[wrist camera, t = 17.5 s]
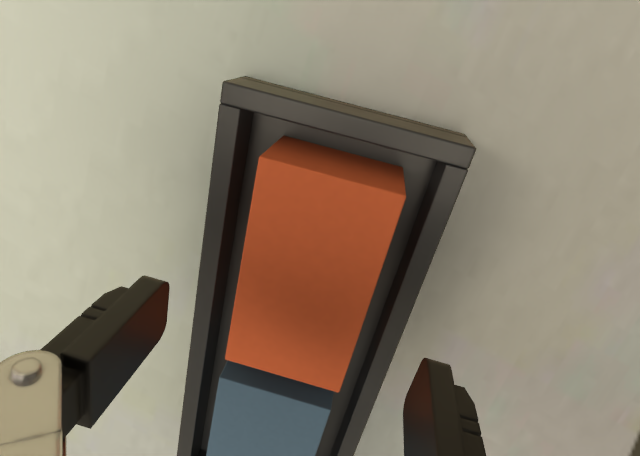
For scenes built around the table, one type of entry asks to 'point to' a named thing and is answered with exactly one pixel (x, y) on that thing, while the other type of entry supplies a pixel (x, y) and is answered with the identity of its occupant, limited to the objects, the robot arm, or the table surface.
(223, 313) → the frame
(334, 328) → the orange block
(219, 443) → the seated pad
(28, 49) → the table surface
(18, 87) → the table surface
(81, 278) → the table surface
